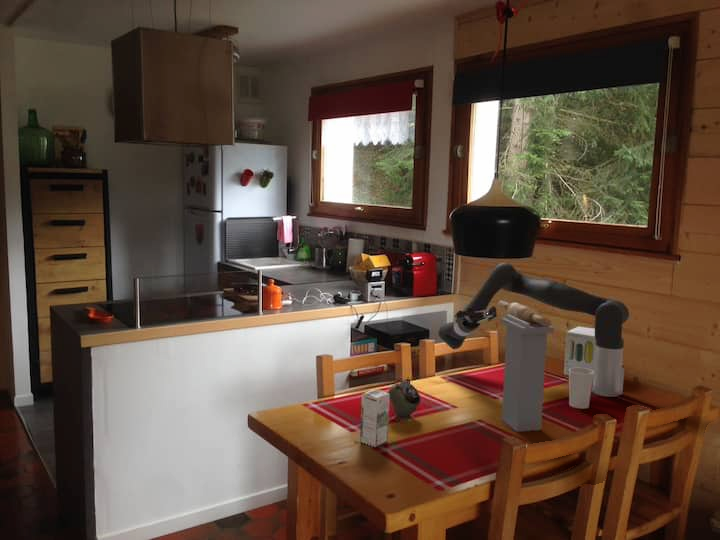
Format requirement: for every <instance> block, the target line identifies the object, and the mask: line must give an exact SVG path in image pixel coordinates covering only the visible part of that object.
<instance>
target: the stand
mask: <svg viewBox="0 0 720 540" xmlns="http://www.w3.org/2000/svg"><path fill="white" fill-rule="evenodd" d="M500 324H501V325H503V326H506V336H505V356H504V371H503V373H504V374H503V375H504V376H503V377H504V378H503V392H502V413H501V421H503V423H505V424H506V425H508V426H509V427H510V428H512V429H513V430H514V431H515V432H519V433H520V432H531V431H532V430H533V431H541V430H542V423H543V422H542V419H543V402H544V401H543V400H544V390H545V389H544V387H545V373H546V372H545V371H546V354H547V338H548V334H552V333H553V334H554V332H555V327H554V326H552V325H551V326H549V327H546V326H543V325H541V324H539V323H535V324H529V323H527V322H525V321H523V320H520V319H518V318H516V317H514V316H511V315H510V314H506V316H505V317H504V318H503V317H502V318H501V319H500Z"/></svg>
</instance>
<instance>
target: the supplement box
mask: <svg viewBox="0 0 720 540" xmlns="http://www.w3.org/2000/svg"><path fill="white" fill-rule="evenodd" d="M595 347H596V339H595V328H592V327H587V326H586V327H585V326H579V325H578V326H576V327H575V328H572V329H570V330H567V331H566V337H565V349H564V350H565V353H564V364H563V365H564V368H563V375H564V376H569V369H570V368H575V367H579V368H586V369H590V370H592V371H594V361H595Z"/></svg>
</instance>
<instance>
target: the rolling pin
mask: <svg viewBox="0 0 720 540" xmlns="http://www.w3.org/2000/svg"><path fill="white" fill-rule="evenodd" d="M497 306H498V307H500V308H502V309H504V310H506V311H507V313H508V315H511V316H514V317H516V318H518V319H520V320H523V321H525V322H527V323H529V324H535V323H539V324H541V325H543V326H546V327H549V326H552V320H551V319H548V318H546V317H545V316H544V317H543V316H541V315H540V313H539V312H538V310H536V309H534V308H531V307H529V306H527V305H524V304H521V303H518V302H511V303H509V302H507V301H505V300H499V301H498V303H497Z"/></svg>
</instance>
